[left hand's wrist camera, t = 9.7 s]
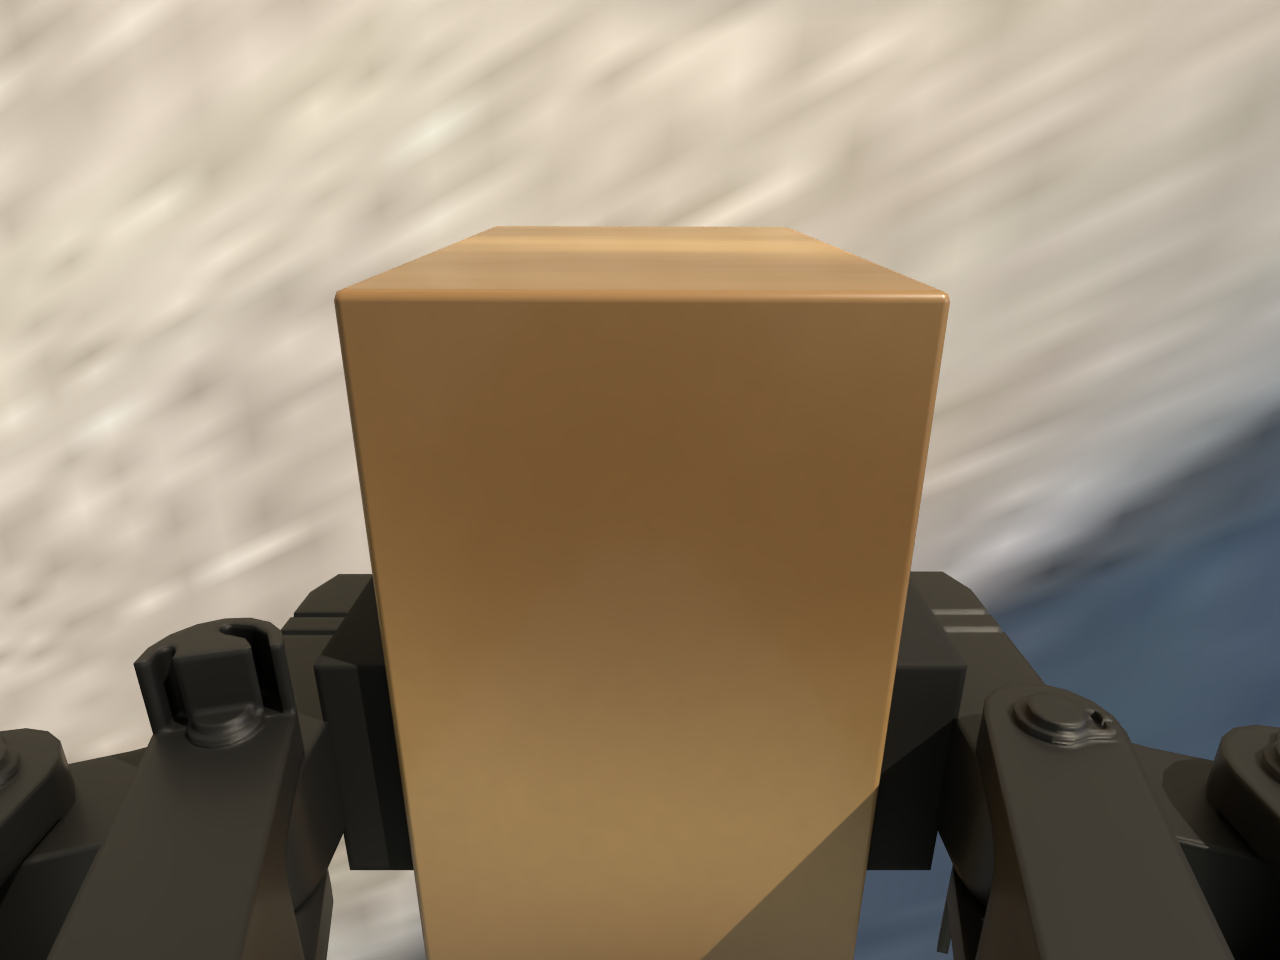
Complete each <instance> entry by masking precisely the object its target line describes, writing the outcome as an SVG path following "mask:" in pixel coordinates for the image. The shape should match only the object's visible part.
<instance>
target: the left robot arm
mask: <svg viewBox="0 0 1280 960" xmlns="http://www.w3.org/2000/svg"><path fill="white" fill-rule="evenodd" d="M134 667H135V671H136V675H137V678H138V682H139V685H140V689H141V692H142V696H143V700H144V703H145V707H146V710H147V714H148V717H149V721H150V724H151V728H152V732H153V736H152V738H151V740H150V742H149V744H148V746H147V747H145V748H142V749H138V750H134V751H130V752H125V753H120V754H116V755H111V756H106V757H101V758H96V759H91V760H86V761H82V762H77V763H72V764H68V763H67V760H66V757H65V754H64V751H63V748H62V745H61V742H60V740H58V739H57V738H56V737H55V736H53V735H52V734H51V733H50V732H48V731H42V730H35V729H28V728H24V729H16V730H8V731H0V960H326V958H327V950H328V942H329V933H330V925H331V917H332V908H333V895H332V888H331V882H330V877H329V871H328V866H329V864H330V862H331V860H332V857H333V855H334V853H335V851H336V848H337V846H338V844H339V842H340V839H341V837H342V835H343V833H344V839H345V844H346V850H347V855H348V861H349V866H350V870H414V868H413V861H412V854H411V846H410V839H409V832H408V825H407V818H406V811H405V804H404V796H403V789H402V782H401V775H400V768H399V761H398V754H397V746H396V739H395V732H394V725H393V718H392V711H391V704H390V696H389V689H388V682H387V675H386V668H385V661H384V653H383V646H382V639H381V632H380V625H379V618H378V611H377V603H376V596H375V589H374V582H373V575H372V574H338V575H337V576H335V577H334V578H332V579H330V580H329V581H327V582H326V583H324V584H322V585H321V586H319V587H318V588H316V589H315V590H313V591H311V592H310V593H309V595H308V596H307V597H306V598H305V600H304V601H303V602H302V603H301V605H300V606H299V607H298V609H297V610H296V611H295V612H294V617H291V618H290V619H289V620H288V621H287V623H286V624H285V625H284V627H283V628H282V629H281V630H279V629H278V628H277V627H276V626H274V625H273V624H272V623H271V622H267V621H263V620H258V619H254V618H227V619H220V620H216V621H211V622H206V623H201V624H197V625H194V626H191V627H189V628H186V629H184V630H181V631H178V632H176V633H173V634H170V635H169V636H167V637H165V638H164V639H162V640H160V641H159V642H157V643H156V644H154V645H152V646H151V647H149V648H147V650H146V651H145V652H144V653H143V654H142V655H141V656H140V657H139V658H138V659H137V660H136V661H135V662H134ZM937 831H938V832H939V834H940V836H941V838H942V841H943V843H944V845H945V847H946V850H947V852H948V854H949V856H950V858H951V861H952V863H953V866H952V871H951V877H950V882H949V887H948V892H947V897H946V902H945V907H944V912H943V918H942V923H941V928H940V933H939V940H938V947H937V952H942V953H946V954H948V950H949V945H950V940H952V948H953V956H954V960H1280V728H1278V727H1270V726H1262V725H1251V726H1244V727H1237V728H1233V729H1232V730H1231V731H1229V732H1228V733H1227V734H1225V735H1224V736H1223V737H1222V738H1221V741H1220V744H1219V747H1218V750H1217V753H1216V756H1215V759H1214V761H1211V760H1207V759H1202V758H1197V757H1192V756H1187V755H1182V754H1177V753H1172V752H1167V751H1163V750H1158V749H1153V748H1148V747H1145V746H1141V745H1137V744H1133V743H1131V741H1130V739H1129V736H1128V734H1127V733H1126V731H1125V730H1124V729H1123V728H1122V726H1121V725H1120V724H1119V722H1118V721H1117V720H1116V719H1115V717H1114V716H1113V715H1111V714H1110V713H1108V712H1107V711H1106V710H1104V709H1103V708H1101V707H1100V706H1098V705H1097V704H1096V703H1094V702H1093V701H1091V700H1088V699H1086V698H1084V697H1082V696H1079V695H1077V694H1075V693H1073V692H1070V691H1068V690H1065V689H1061V688H1056V687H1052V686H1048V685H1046V684H1045V683H1044V682H1043V681H1042V679H1041V678H1040V677H1039V676H1038V674H1037V673H1036V672H1035V670H1034V669H1033V668H1032V667H1031V665H1030V664H1029V663H1028V662H1027V660H1026V659H1025V658H1024V656H1023V655H1022V654H1021V653H1020V651H1019V650H1018V649H1017V648H1016V646H1015V645H1014V644H1013V642H1012V641H1011V640H1010V639H1009V637H1008V636H1007V635H1006V634H1005V632H1001V627H1000V626H999V625H998V623H997V622H996V621H995V620H994V618H993V617H992V616H991V615H988V614H987V609H986V608H985V607H984V606H983V604H982V603H981V602H980V601H979V599H978V598H977V597H976V595H975V594H974V593H973V592H972V590H971V589H969V588H968V587H966V586H964V585H963V584H961V583H960V582H958V581H956V580H955V579H953V578H952V577H950V576H948V575H947V574H945V573H944V572H910V577H909V583H908V590H907V597H906V604H905V611H904V617H903V624H902V631H901V638H900V645H899V652H898V658H897V665H896V672H895V679H894V686H893V692H892V699H891V706H890V713H889V720H888V726H887V733H886V740H885V747H884V754H883V760H882V767H881V774H880V781H879V788H878V794H877V801H876V808H875V815H874V822H873V828H872V835H871V842H870V849H869V856H868V862H867V869H866V870H931V864H932V859H933V853H934V848H935V842H936V837H937Z"/></svg>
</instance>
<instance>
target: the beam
mask: <svg viewBox="0 0 1280 960" xmlns="http://www.w3.org/2000/svg"><path fill="white" fill-rule="evenodd" d="M334 303H335V310H336V318H337V325H338V332H339V339H340V346H341V353H342V360H343V368H344V375H345V382H346V389H347V396H348V403H349V410H350V418H351V425H352V432H353V439H354V446H355V453H356V461H357V468H358V475H359V482H360V489H361V496H362V503H363V511H364V518H365V525H366V532H367V539H368V546H369V553H370V561H371V568H372V575H373V582H374V589H375V596H376V603H377V611H378V618H379V625H380V632H381V639H382V646H383V653H384V661H385V668H386V675H387V682H388V689H389V696H390V704H391V711H392V718H393V725H394V732H395V739H396V746H397V754H398V761H399V768H400V775H401V782H402V789H403V796H404V804H405V811H406V818H407V825H408V832H409V839H410V846H411V854H412V861H413V868H414V875H415V882H416V889H417V896H418V904H419V911H420V918H421V925H422V932H423V939H424V947H425V954H426V960H853V958H854V951H855V944H856V937H857V930H858V924H859V917H860V910H861V903H862V896H863V890H864V883H865V876H866V869H867V862H868V856H869V849H870V842H871V835H872V828H873V822H874V815H875V808H876V801H877V794H878V788H879V781H880V774H881V767H882V760H883V754H884V747H885V740H886V733H887V726H888V720H889V713H890V706H891V699H892V692H893V686H894V679H895V672H896V665H897V658H898V652H899V645H900V638H901V631H902V624H903V617H904V611H905V604H906V597H907V590H908V583H909V577H910V570H911V563H912V556H913V549H914V543H915V536H916V529H917V522H918V515H919V509H920V502H921V495H922V488H923V481H924V475H925V468H926V461H927V454H928V447H929V441H930V434H931V427H932V420H933V413H934V407H935V400H936V393H937V386H938V379H939V373H940V366H941V359H942V352H943V345H944V339H945V332H946V325H947V318H948V311H949V305H950V301H949V297H948V294H947V293H945V292H943V291H940V290H938V289H936V288H933V287H931V286H928V285H926V284H923V283H921V282H919V281H916V280H914V279H911V278H909V277H906V276H904V275H902V274H899V273H897V272H894V271H892V270H890V269H887V268H885V267H882V266H880V265H877V264H875V263H873V262H870V261H868V260H865V259H863V258H860V257H858V256H856V255H853V254H851V253H848V252H846V251H843V250H841V249H839V248H836V247H834V246H831V245H829V244H826V243H824V242H822V241H819V240H817V239H814V238H812V237H809V236H807V235H805V234H802V233H800V232H797V231H795V230H793V229H790V228H788V227H559V226H496V227H494V228H491V229H489V230H486V231H484V232H481V233H479V234H476V235H474V236H472V237H469V238H467V239H464V240H462V241H459V242H457V243H454V244H452V245H450V246H447V247H445V248H442V249H440V250H437V251H435V252H432V253H430V254H428V255H425V256H423V257H420V258H418V259H415V260H413V261H410V262H408V263H405V264H403V265H401V266H398V267H396V268H393V269H391V270H388V271H386V272H383V273H381V274H379V275H376V276H374V277H371V278H369V279H366V280H364V281H361V282H359V283H357V284H354V285H352V286H349V287H347V288H344V289H342V290H340V291H338V292H336V295H335V299H334Z"/></svg>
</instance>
